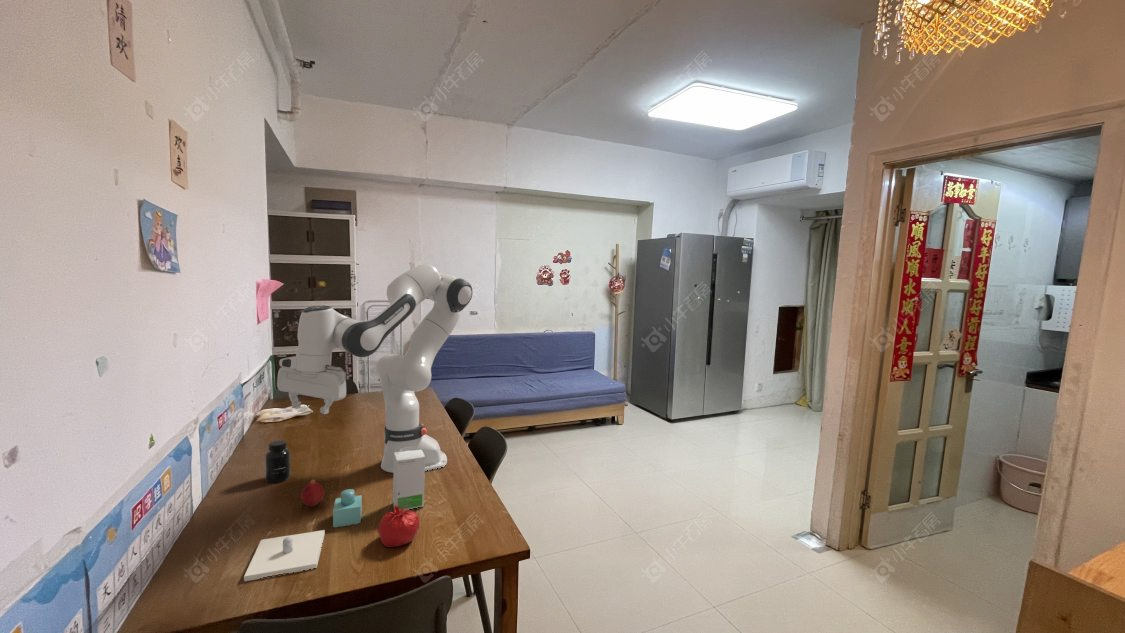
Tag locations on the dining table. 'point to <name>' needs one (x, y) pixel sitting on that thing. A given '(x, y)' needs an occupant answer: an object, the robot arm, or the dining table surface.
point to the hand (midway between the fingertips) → (310, 410)
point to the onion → (312, 493)
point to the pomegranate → (398, 527)
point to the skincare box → (408, 479)
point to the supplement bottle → (277, 462)
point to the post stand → (285, 555)
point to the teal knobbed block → (347, 509)
